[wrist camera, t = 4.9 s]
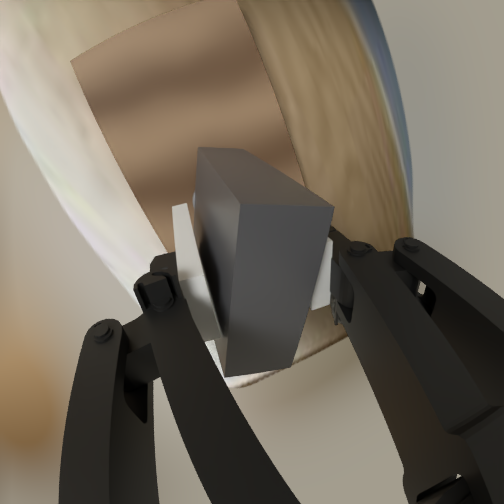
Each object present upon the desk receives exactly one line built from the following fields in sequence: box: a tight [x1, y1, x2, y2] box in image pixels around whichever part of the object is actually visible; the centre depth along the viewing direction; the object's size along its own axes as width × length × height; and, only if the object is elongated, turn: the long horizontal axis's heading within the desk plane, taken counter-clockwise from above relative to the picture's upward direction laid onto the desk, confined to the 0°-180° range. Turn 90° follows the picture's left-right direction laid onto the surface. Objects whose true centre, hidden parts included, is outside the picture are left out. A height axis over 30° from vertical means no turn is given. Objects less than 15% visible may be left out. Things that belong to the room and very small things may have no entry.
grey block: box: [192, 147, 334, 378], centre depth 14 cm, size 10×3×10 cm, turn 174°
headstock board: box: [70, 0, 305, 253], centre depth 17 cm, size 20×10×2 cm, turn 21°
